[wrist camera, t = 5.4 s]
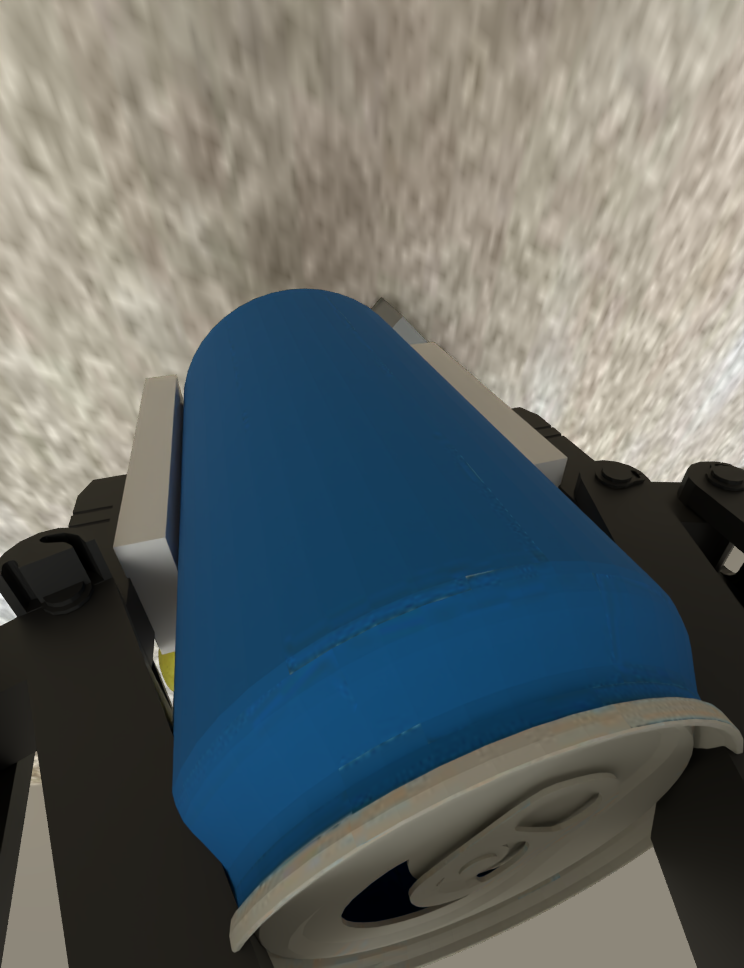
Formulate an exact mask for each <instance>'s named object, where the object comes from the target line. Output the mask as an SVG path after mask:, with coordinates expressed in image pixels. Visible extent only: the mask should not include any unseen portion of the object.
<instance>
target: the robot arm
mask: <svg viewBox="0 0 744 968" xmlns="http://www.w3.org/2000/svg"><path fill="white" fill-rule="evenodd" d="M410 346H411V347H412V348H413V349H414V350H416V351H417V352H418V353H419V354H420V355H421V356H422V357H423V358H424V359H425V360H426V361H427V362H428V363H429V364H430V365H431V366H432V367H433V368H434V369H435V370H436V371H437V372H438V373H439V374H440V375H441V376H442V377H443V378H445V379H446V380H447V381H448V382H449V383H450V384H451V385H452V386H453V387H454V388H455V389H456V390H457V391H458V392H459V393H460V394H461V395H462V396H463V397H464V398H465V399H466V400H467V401H468V402H469V403H470V404H471V405H473V406H474V407H475V408H476V409H477V410H478V411H479V412H480V413H481V414H482V415H483V416H484V417H485V418H486V419H487V420H488V421H489V422H490V423H491V424H492V425H493V426H494V427H495V428H496V429H497V430H498V431H499V432H500V433H502V434H503V435H504V436H505V437H506V438H507V439H508V440H509V441H510V442H511V443H512V444H513V445H514V446H515V447H516V448H517V449H518V450H519V451H520V452H521V453H522V454H523V455H524V456H525V457H526V458H527V459H528V460H530V461H531V462H532V463H533V464H534V465H535V466H536V467H537V468H538V469H539V470H540V471H541V472H542V473H543V474H544V475H545V476H546V477H547V478H548V479H549V480H550V481H551V482H552V483H553V484H554V485H555V486H556V487H557V488H559V489H560V490H561V491H562V492H563V493H564V494H565V495H566V496H567V497H568V498H569V499H570V500H571V501H572V502H573V503H574V504H575V505H576V506H577V507H578V508H579V509H580V510H581V511H582V512H583V513H584V514H585V515H587V516H588V517H589V518H590V519H591V520H592V521H593V522H594V523H595V524H596V525H597V526H598V527H599V528H600V529H601V530H602V531H603V532H604V533H605V534H606V535H607V536H608V537H609V538H610V539H611V540H612V541H613V542H614V543H616V544H617V545H618V546H619V547H620V548H621V549H622V550H623V551H624V552H625V553H626V554H627V555H628V556H629V557H630V558H631V559H632V560H633V561H634V562H635V563H636V564H637V565H638V566H639V567H640V568H641V569H642V570H644V571H645V572H646V573H647V574H648V575H649V576H650V577H651V578H652V579H653V580H654V581H655V582H656V583H657V584H658V585H659V586H660V587H661V588H662V589H663V590H664V591H665V592H666V593H667V595H668V596H669V597H670V598H671V600H672V602H673V603H674V605H675V606H676V609H677V611H678V613H679V615H680V617H681V619H682V621H683V623H684V626H685V628H686V630H687V633H688V635H689V640H690V645H691V651H692V658H693V666H694V673H695V680H696V686H697V692H698V695H699V697H700V699H701V701H704V702H708V703H711V704H712V705H714V706H715V707H716V708H718V709H719V710H720V711H722V712H723V713H724V715H725V716H726V717H727V718H728V719H729V720H730V721H731V722H732V723H733V724H734V725H735V727H736V728H737V729H738V730H739V731H740V733H741V735H742V737H743V740H744V563H743V565H742V566H741V568H740V570H739V571H738V572H737V573H733V572H732V571H730V570H728V569H727V568H726V567H725V566H724V563H725V561H726V559H727V558H728V556H729V554H730V552H731V551H732V549H733V548H734V546H736V547H737V548H738V549H739V550H741V551H742V552H743V553H744V470H743V469H740V468H737V467H734V466H732V465H731V464H727V463H723V462H722V463H721V462H698V463H695V464H692V465H691V466H690V467H689V468H688V469H687V471H686V473H685V476H684V478H683V480H682V482H651V481H650V480H649V479H648V478H647V477H646V476H645V475H644V474H643V473H642V472H641V471H639V470H637V469H635V468H633V467H631V466H629V465H626V464H622V463H619V462H615V461H605V460H601V461H594V460H593V459H592V458H590V457H589V456H588V455H587V454H585V453H584V452H583V451H582V450H580V449H579V448H578V447H577V446H576V445H574V444H573V443H572V442H571V441H569V440H568V439H567V438H566V437H565V436H561V433H560V432H558V431H557V430H556V429H555V428H553V427H552V428H551V425H550V424H549V423H547V422H546V421H545V420H544V419H542V418H541V417H540V416H539V415H537V414H535V413H532V412H530V411H528V410H525V409H523V408H521V407H518V408H512V409H511V408H510V407H508V406H507V405H506V404H505V403H504V402H503V401H501V400H500V399H499V398H498V397H497V396H496V395H495V394H493V393H492V392H491V391H490V390H489V389H488V388H486V387H485V386H484V385H483V384H482V383H481V382H479V381H478V380H477V379H476V378H475V377H474V376H473V375H471V374H470V373H469V372H468V371H467V370H466V369H464V368H463V367H462V366H461V365H460V364H459V363H458V362H456V361H455V360H454V359H453V358H452V357H451V356H449V355H448V354H447V353H446V352H445V351H444V350H442V349H441V348H440V347H439V346H438V345H437V344H436V343H434V342H429V343H421V344H413V345H410ZM182 431H183V397H182V393H181V390H180V386H179V382H178V379H177V375H169V376H161V377H153V378H146V379H145V384H144V389H143V394H142V399H141V405H140V410H139V415H138V420H137V425H136V430H135V436H134V441H133V446H132V451H131V456H130V462H129V467H128V472H127V474H126V475H120V476H114V477H108V478H102V479H96V480H93V481H92V482H91V483H90V484H89V485H88V486H87V487H86V488H85V489H84V490H83V491H82V492H81V493H80V494H79V495H78V497H77V500H76V504H75V507H74V510H73V516H71V519H70V523H69V526H68V527H69V528H57V529H53V530H49V531H45V532H41V533H38V534H36V535H33V536H31V537H29V538H27V539H25V540H23V541H20V542H19V543H18V544H16V545H15V546H13V547H12V548H11V549H9V550H8V551H6V552H5V553H4V554H3V555H2V556H1V558H0V593H1V594H2V596H3V597H4V599H5V600H6V601H7V603H8V604H9V606H10V607H11V609H12V610H13V611H14V613H15V614H16V616H17V617H16V618H15V619H13V620H11V621H9V622H7V623H5V624H3V625H1V626H0V968H1V963H2V956H3V950H4V944H5V938H6V931H7V925H8V919H9V912H10V906H11V900H12V894H13V887H14V881H15V875H16V869H17V862H18V856H19V850H20V844H21V837H22V831H23V825H24V818H25V812H26V806H27V800H28V793H29V787H30V781H31V775H32V768H33V762H34V756H35V752H36V751H37V753H38V760H39V767H40V773H41V780H42V787H43V794H44V800H45V808H46V814H47V821H48V828H49V835H50V842H51V849H52V854H53V862H54V868H55V876H56V883H57V889H58V895H59V903H60V910H61V917H62V923H63V930H64V937H65V944H66V951H67V958H68V964H69V968H274V966H273V964H272V962H271V959H270V957H269V955H268V953H267V951H266V948H265V947H264V946H262V945H261V943H260V942H259V940H258V938H257V937H256V935H255V932H254V933H253V934H252V935H251V936H250V938H249V939H248V940H247V941H246V942H245V943H244V945H243V946H242V948H241V949H240V950H239V951H237V952H233V951H232V948H231V943H230V937H229V934H230V925H231V919H232V917H233V915H234V914H235V912H236V911H237V909H238V906H237V903H236V900H235V897H234V894H233V892H232V889H231V886H230V884H229V881H228V879H227V876H226V874H225V871H224V869H223V867H222V864H221V862H220V861H219V860H218V859H217V858H216V857H215V855H214V854H213V853H212V852H211V851H210V850H209V849H208V848H207V847H206V846H205V845H204V844H203V843H202V842H201V841H200V840H199V839H198V838H197V837H196V836H195V835H194V834H193V833H192V832H191V830H190V829H189V828H188V827H187V825H186V824H185V823H184V822H183V820H182V818H181V816H180V814H179V812H178V810H177V807H176V805H175V802H174V798H173V794H172V781H173V749H174V737H173V706H172V704H171V701H170V699H169V696H168V694H167V691H166V689H165V686H164V684H163V681H162V679H161V676H160V674H159V671H158V669H157V667H156V665H155V663H154V661H153V650H154V638H155V640H156V642H157V645H158V647H159V649H160V651H161V653H162V655H163V654H167V653H171V652H175V638H176V609H177V579H178V549H179V520H180V490H181V460H182ZM651 841H652V844H653V847H654V849H655V852H656V855H657V858H658V860H659V863H660V866H661V869H662V871H663V874H664V877H665V880H666V883H667V885H668V888H669V891H670V894H671V896H672V899H673V902H674V905H675V907H676V910H677V913H678V916H679V919H680V921H681V924H682V926H683V929H684V932H685V935H686V938H687V941H688V943H689V946H690V949H691V952H692V954H693V957H694V960H695V963H696V965H697V968H744V741H743V753H740V754H736V753H734V752H733V751H731V750H730V749H728V748H727V747H726V746H719V747H715V748H709V749H705V748H694V747H693V751H692V756H691V758H690V760H689V762H688V764H687V766H686V768H685V769H684V771H683V773H682V774H681V776H680V777H679V778H678V780H677V781H676V782H675V783H674V784H673V786H672V787H671V788H670V789H669V790H668V791H667V792H666V793H665V794H664V795H663V796H662V797H661V798H660V799H659V800H658V801H657V802H656V807H655V814H654V819H653V825H652V830H651Z"/></svg>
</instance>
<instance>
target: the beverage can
mask: <svg viewBox="0 0 744 968" xmlns="http://www.w3.org/2000/svg"><path fill="white" fill-rule="evenodd" d="M173 737H174V749H173V781H172V794H173V798H174V802H175V805H176V807H177V810H178V812H179V814H180V816H181V818H182V820H183V822H184V823H185V824H186V825H187V827H188V828H189V829H190V830H191V832H192V833H193V834H194V835H195V836H196V837H197V838H198V839H199V840H200V841H201V842H202V843H203V844H204V845H205V846H206V847H207V848H208V849H209V850H210V851H211V852H212V853H213V854H214V855H215V857H216V858H217V859H218V860H219V861H220V862H221V864H222V867H223V869H224V871H225V874H226V876H227V879H228V881H229V884H230V886H231V889H232V892H233V894H234V897H235V900H236V903H237V906H238V909H237V911H236V912H235V914H234V915H233V917H232V919H231V925H230V934H229V937H230V943H231V948H232V951H233V952H237V951H239V950H240V949H241V948H242V946H243V945H244V943H245V942H246V941H247V940H248V939H249V938H250V936H251V935H252V934H253V933H254V932H255V935H256V937H257V938H258V940H259V942H260V943H261V945H262V946H264V947H265V948H266V951H267V953H268V955H269V957H270V959H271V962H272V964H273V966H274V968H421V967H424V966H426V965H429V964H431V963H434V962H436V961H439V960H442V959H444V958H447V957H449V956H452V955H454V954H456V953H459V952H461V951H463V950H466V949H468V948H470V947H473V946H475V945H477V944H479V943H482V942H484V941H486V940H488V939H490V938H493V937H495V936H497V935H499V934H501V933H503V932H506V931H508V930H510V929H512V928H514V927H516V926H518V925H520V924H522V923H524V922H526V921H528V920H530V919H532V918H534V917H536V916H538V915H540V914H541V913H543V912H545V911H547V910H549V909H551V908H553V907H555V906H556V905H558V904H560V903H562V902H564V901H566V900H568V899H569V898H571V897H573V896H575V895H577V894H578V893H580V892H582V891H584V890H585V889H587V888H589V887H591V886H592V885H594V884H596V883H597V882H599V881H601V880H602V879H604V878H606V877H607V876H609V875H610V874H612V873H614V872H615V871H617V870H618V869H620V868H622V867H623V866H625V865H626V864H628V863H629V862H631V861H632V860H634V859H635V858H637V857H638V856H640V855H641V854H643V853H644V852H646V851H647V850H648V849H650V848H651V847H653V844H652V841H651V830H652V825H653V819H654V814H655V807H656V802H657V801H658V800H659V799H660V798H661V797H662V796H663V795H664V794H665V793H666V792H667V791H668V790H669V789H670V788H671V787H672V786H673V784H674V783H675V782H676V781H677V780H678V778H679V777H680V776H681V774H682V773H683V771H684V769H685V768H686V766H687V764H688V762H689V760H690V758H691V756H692V751H693V747H694V748H705V749H709V748H715V747H719V746H726V747H727V748H728V749H730V750H731V751H733V752H734V753H736V754H740V753H743V741H744V740H743V737H742V735H741V733H740V731H739V730H738V729H737V728H736V727H735V725H734V724H733V723H732V722H731V721H730V720H729V719H728V718H727V717H726V716H725V715H724V713H723V712H722V711H720V710H719V709H718V708H716V707H715V706H714V705H712V704H711V703H708V702H704V701H701V699H700V697H699V695H698V692H697V686H696V680H695V673H694V666H693V658H692V651H691V645H690V640H689V635H688V633H687V630H686V628H685V626H684V623H683V621H682V619H681V617H680V615H679V613H678V611H677V609H676V606H675V605H674V603H673V602H672V600H671V598H670V597H669V596H668V595H667V593H666V592H665V591H664V590H663V589H662V588H661V587H660V586H659V585H658V584H657V583H656V582H655V581H654V580H653V579H652V578H651V577H650V576H649V575H648V574H647V573H646V572H645V571H644V570H642V569H641V568H640V567H639V566H638V565H637V564H636V563H635V562H634V561H633V560H632V559H631V558H630V557H629V556H628V555H627V554H626V553H625V552H624V551H623V550H622V549H621V548H620V547H619V546H618V545H617V544H616V543H614V542H613V541H612V540H611V539H610V538H609V537H608V536H607V535H606V534H605V533H604V532H603V531H602V530H601V529H600V528H599V527H598V526H597V525H596V524H595V523H594V522H593V521H592V520H591V519H590V518H589V517H588V516H587V515H585V514H584V513H583V512H582V511H581V510H580V509H579V508H578V507H577V506H576V505H575V504H574V503H573V502H572V501H571V500H570V499H569V498H568V497H567V496H566V495H565V494H564V493H563V492H562V491H561V490H560V489H559V488H557V487H556V486H555V485H554V484H553V483H552V482H551V481H550V480H549V479H548V478H547V477H546V476H545V475H544V474H543V473H542V472H541V471H540V470H539V469H538V468H537V467H536V466H535V465H534V464H533V463H532V462H531V461H530V460H528V459H527V458H526V457H525V456H524V455H523V454H522V453H521V452H520V451H519V450H518V449H517V448H516V447H515V446H514V445H513V444H512V443H511V442H510V441H509V440H508V439H507V438H506V437H505V436H504V435H503V434H502V433H500V432H499V431H498V430H497V429H496V428H495V427H494V426H493V425H492V424H491V423H490V422H489V421H488V420H487V419H486V418H485V417H484V416H483V415H482V414H481V413H480V412H479V411H478V410H477V409H476V408H475V407H474V406H473V405H471V404H470V403H469V402H468V401H467V400H466V399H465V398H464V397H463V396H462V395H461V394H460V393H459V392H458V391H457V390H456V389H455V388H454V387H453V386H452V385H451V384H450V383H449V382H448V381H447V380H446V379H445V378H443V377H442V376H441V375H440V374H439V373H438V372H437V371H436V370H435V369H434V368H433V367H432V366H431V365H430V364H429V363H428V362H427V361H426V360H425V359H424V358H423V357H422V356H421V355H420V354H419V353H418V352H417V351H416V350H414V349H413V348H412V347H411V346H410V345H409V344H408V343H407V342H406V341H405V340H404V339H403V338H402V337H401V336H400V335H399V334H398V333H397V332H396V331H395V330H394V329H393V328H392V327H391V326H390V325H389V324H388V323H386V322H385V321H384V320H383V319H382V318H381V317H380V316H379V315H378V314H377V313H375V312H374V311H373V310H371V309H370V308H369V307H367V306H365V305H364V304H362V303H360V302H358V301H356V300H354V299H352V298H349V297H347V296H344V295H341V294H339V293H334V292H330V291H325V290H318V289H291V290H284V291H279V292H274V293H270V294H267V295H264V296H261V297H259V298H256V299H253V300H251V301H250V302H248V303H246V304H244V305H242V306H240V307H238V308H237V309H235V310H234V311H233V312H231V313H230V314H228V315H227V316H226V317H224V318H223V319H222V320H221V321H220V322H219V323H218V324H217V325H216V326H215V327H214V328H213V329H212V330H211V331H210V332H209V334H208V335H207V336H206V337H205V339H204V340H203V341H202V343H201V344H200V346H199V348H198V350H197V351H196V353H195V355H194V357H193V359H192V362H191V364H190V367H189V370H188V373H187V377H186V382H185V386H184V401H183V431H182V460H181V490H180V520H179V549H178V579H177V609H176V638H175V668H174V698H173Z"/></svg>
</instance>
